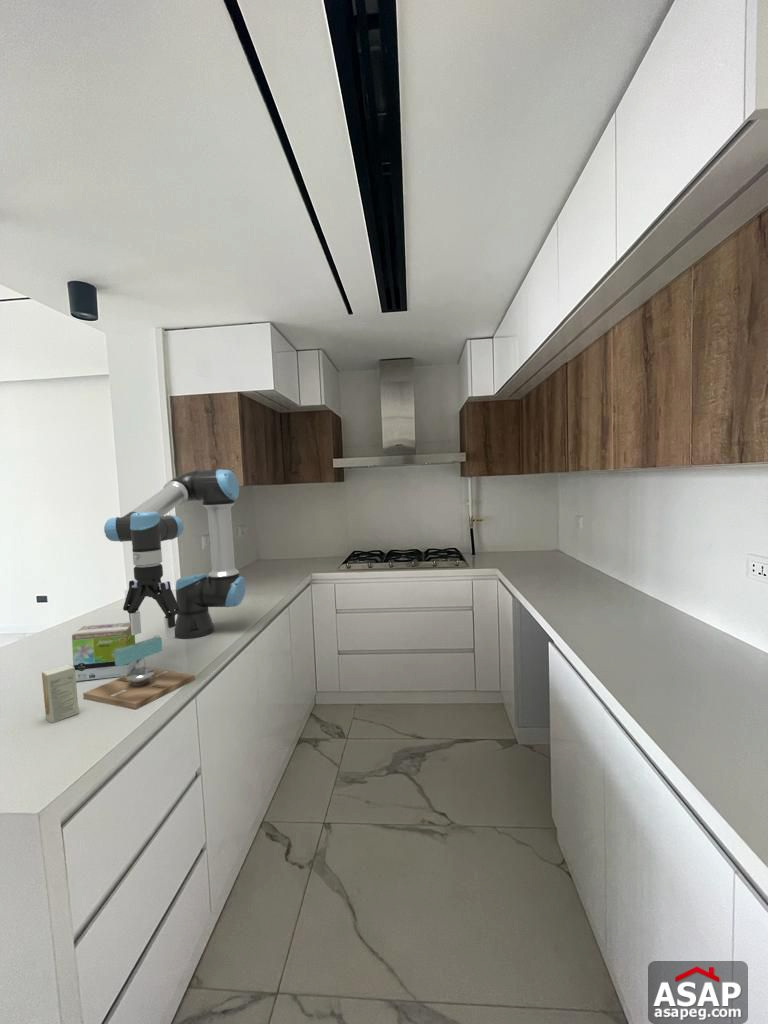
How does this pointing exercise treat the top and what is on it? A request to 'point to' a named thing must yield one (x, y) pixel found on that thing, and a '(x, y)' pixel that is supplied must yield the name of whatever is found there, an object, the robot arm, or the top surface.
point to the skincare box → (60, 693)
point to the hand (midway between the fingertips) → (153, 636)
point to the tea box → (101, 651)
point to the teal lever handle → (138, 658)
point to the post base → (138, 689)
